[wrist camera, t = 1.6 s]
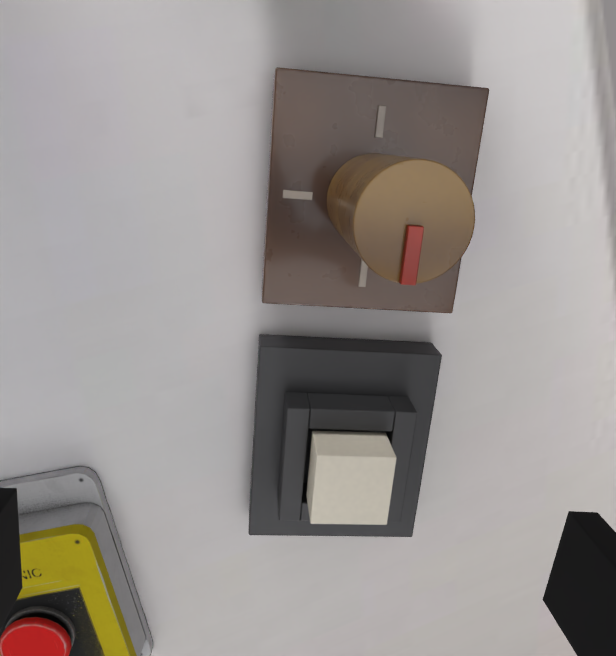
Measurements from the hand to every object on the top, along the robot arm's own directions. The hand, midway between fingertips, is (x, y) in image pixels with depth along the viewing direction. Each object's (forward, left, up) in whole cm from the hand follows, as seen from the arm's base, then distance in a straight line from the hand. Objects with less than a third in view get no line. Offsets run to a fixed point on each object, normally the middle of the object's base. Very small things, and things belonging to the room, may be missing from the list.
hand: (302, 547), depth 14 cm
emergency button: (+18, -13, -19) cm, 29 cm away
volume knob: (-7, +4, -16) cm, 18 cm away
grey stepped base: (+7, +4, -19) cm, 21 cm away
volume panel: (-7, +4, -19) cm, 21 cm away
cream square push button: (+7, +4, -15) cm, 18 cm away
